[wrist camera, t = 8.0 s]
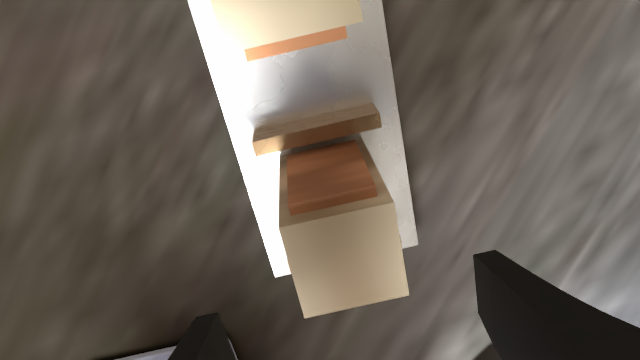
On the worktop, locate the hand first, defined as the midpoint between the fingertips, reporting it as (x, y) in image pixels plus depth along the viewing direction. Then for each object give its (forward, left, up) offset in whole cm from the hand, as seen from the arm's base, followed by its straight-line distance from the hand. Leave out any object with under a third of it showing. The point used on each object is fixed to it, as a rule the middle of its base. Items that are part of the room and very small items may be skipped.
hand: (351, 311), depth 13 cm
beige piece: (+4, 0, -9) cm, 10 cm away
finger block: (0, 0, -8) cm, 8 cm away
